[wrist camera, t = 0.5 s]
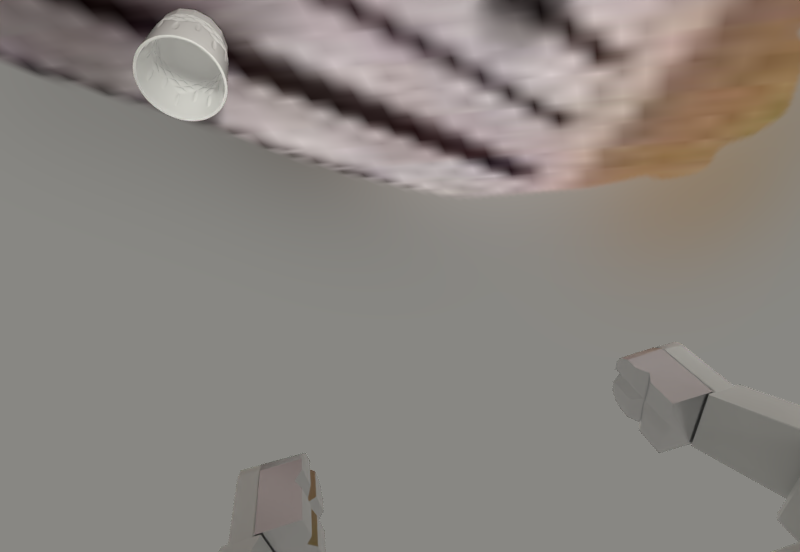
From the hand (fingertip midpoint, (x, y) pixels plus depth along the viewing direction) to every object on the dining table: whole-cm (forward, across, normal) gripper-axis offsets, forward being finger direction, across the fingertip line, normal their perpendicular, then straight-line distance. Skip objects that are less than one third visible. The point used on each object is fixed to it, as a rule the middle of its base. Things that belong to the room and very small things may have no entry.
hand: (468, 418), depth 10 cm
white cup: (+49, +13, -10) cm, 51 cm away
